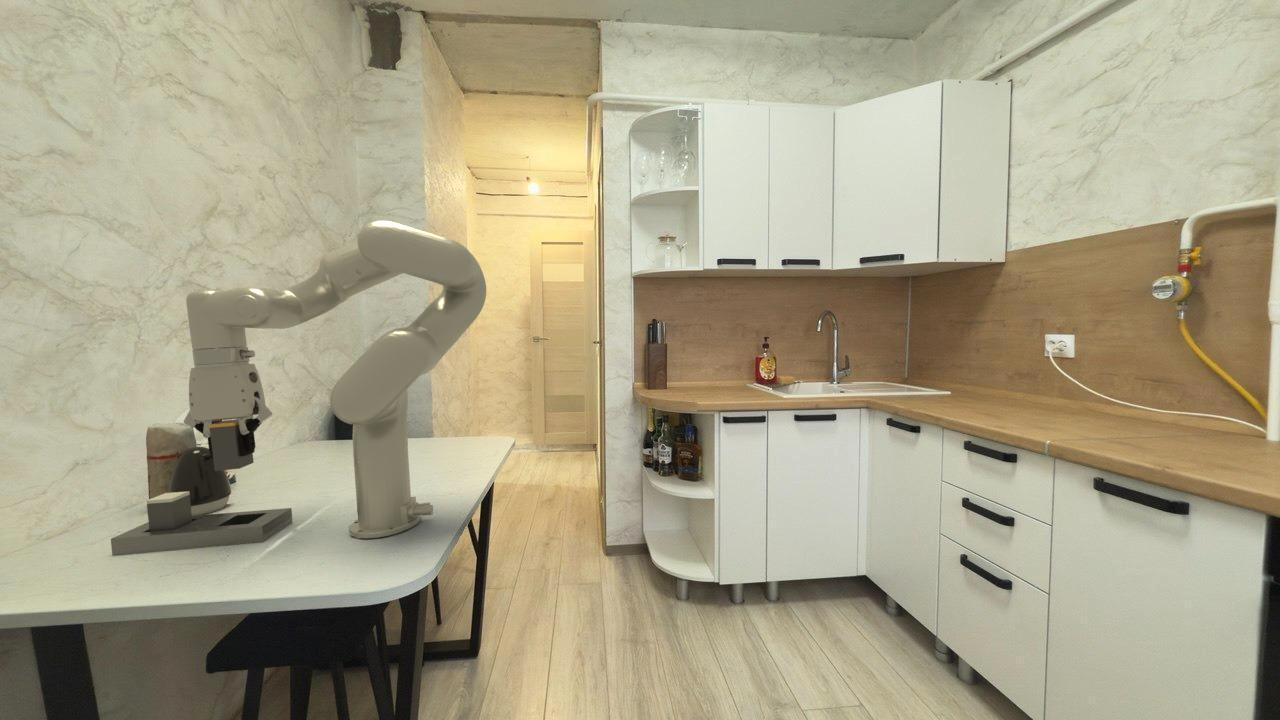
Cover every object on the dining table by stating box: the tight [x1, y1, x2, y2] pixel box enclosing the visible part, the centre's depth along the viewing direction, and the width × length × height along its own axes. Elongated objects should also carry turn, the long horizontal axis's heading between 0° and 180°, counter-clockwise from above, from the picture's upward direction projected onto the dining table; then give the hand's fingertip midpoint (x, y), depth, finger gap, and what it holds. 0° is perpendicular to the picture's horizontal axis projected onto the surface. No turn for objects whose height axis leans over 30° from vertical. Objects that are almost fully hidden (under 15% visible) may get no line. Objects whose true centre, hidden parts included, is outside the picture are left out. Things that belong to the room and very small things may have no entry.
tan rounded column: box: [145, 422, 198, 500], centre depth 106 cm, size 8×8×20 cm
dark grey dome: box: [168, 446, 232, 516], centre depth 102 cm, size 10×10×15 cm
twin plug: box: [146, 491, 192, 532], centre depth 87 cm, size 4×4×9 cm
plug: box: [209, 419, 254, 471], centre depth 87 cm, size 4×4×9 cm
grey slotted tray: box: [110, 507, 293, 556], centre depth 88 cm, size 24×9×4 cm, turn 98°
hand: (233, 454), depth 87 cm, fingers closed on plug, 4 cm apart
